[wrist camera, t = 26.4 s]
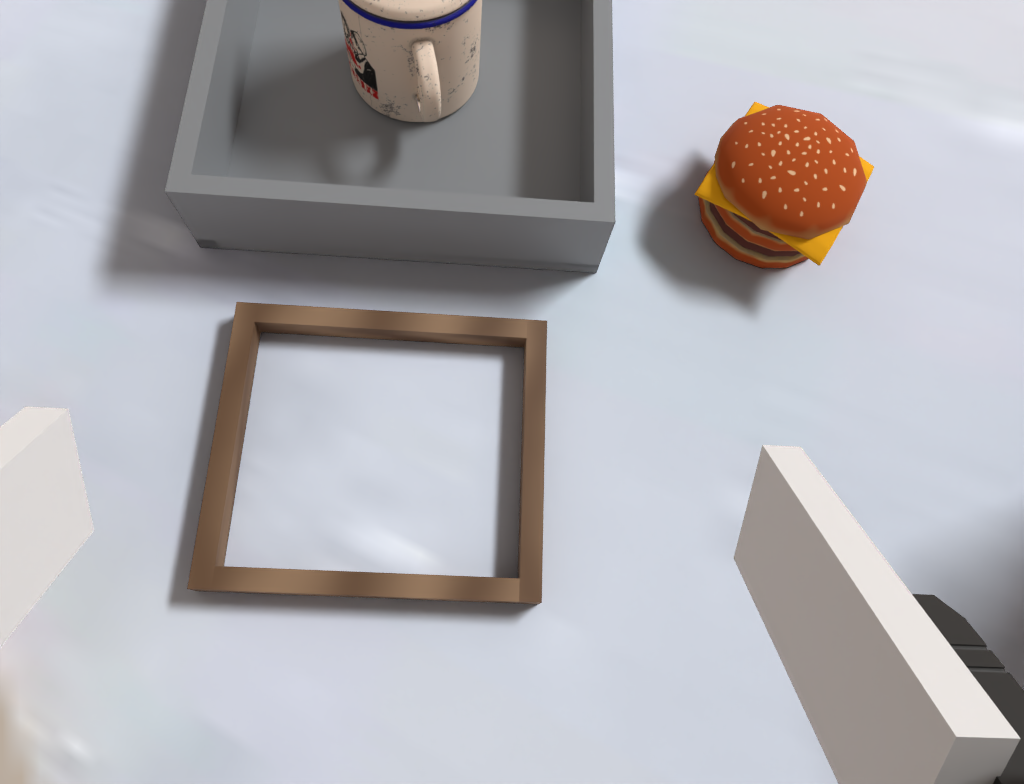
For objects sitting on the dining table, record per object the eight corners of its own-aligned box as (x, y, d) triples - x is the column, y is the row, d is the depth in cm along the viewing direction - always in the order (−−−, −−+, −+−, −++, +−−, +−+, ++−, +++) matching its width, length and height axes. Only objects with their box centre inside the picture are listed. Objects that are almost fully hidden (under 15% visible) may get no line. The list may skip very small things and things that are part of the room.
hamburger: (848, 192, 51) (904, 129, 45) (795, 298, 48) (846, 246, 42) (728, 129, 52) (766, 59, 46) (668, 229, 49) (700, 168, 43)
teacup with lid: (340, 28, 51) (309, -142, 40) (469, 15, 52) (473, -152, 41) (364, 173, 48) (337, 30, 37) (502, 155, 49) (516, 12, 38)
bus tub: (594, -22, 56) (610, -97, 50) (596, 272, 48) (615, 222, 42) (258, -51, 54) (235, -133, 49) (200, 247, 46) (164, 191, 40)
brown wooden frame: (544, 330, 46) (546, 320, 45) (538, 604, 41) (541, 602, 39) (243, 312, 45) (236, 301, 43) (196, 590, 40) (187, 588, 38)
